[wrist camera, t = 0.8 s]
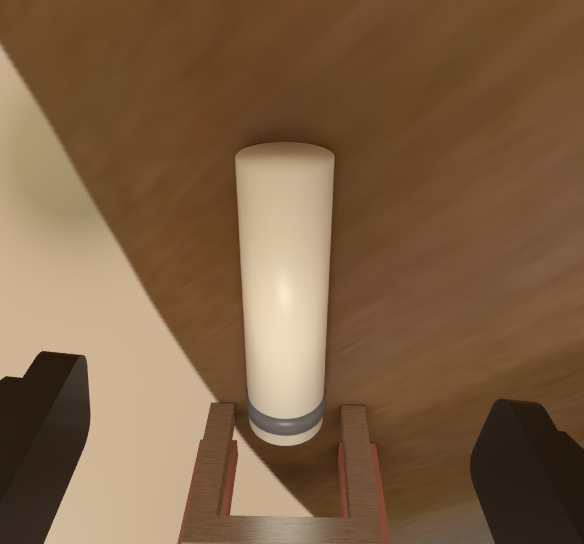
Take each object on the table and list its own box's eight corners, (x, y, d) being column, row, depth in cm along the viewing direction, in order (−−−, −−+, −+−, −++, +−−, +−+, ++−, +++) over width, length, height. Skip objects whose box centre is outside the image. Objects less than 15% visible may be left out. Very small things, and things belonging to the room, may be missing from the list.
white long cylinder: (239, 140, 25) (225, 172, 21) (335, 141, 25) (338, 174, 21) (251, 388, 33) (242, 445, 29) (323, 390, 33) (324, 448, 29)
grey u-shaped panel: (364, 405, 34) (384, 546, 26) (363, 422, 34) (381, 564, 26) (211, 402, 34) (180, 542, 26) (212, 419, 35) (184, 559, 26)
